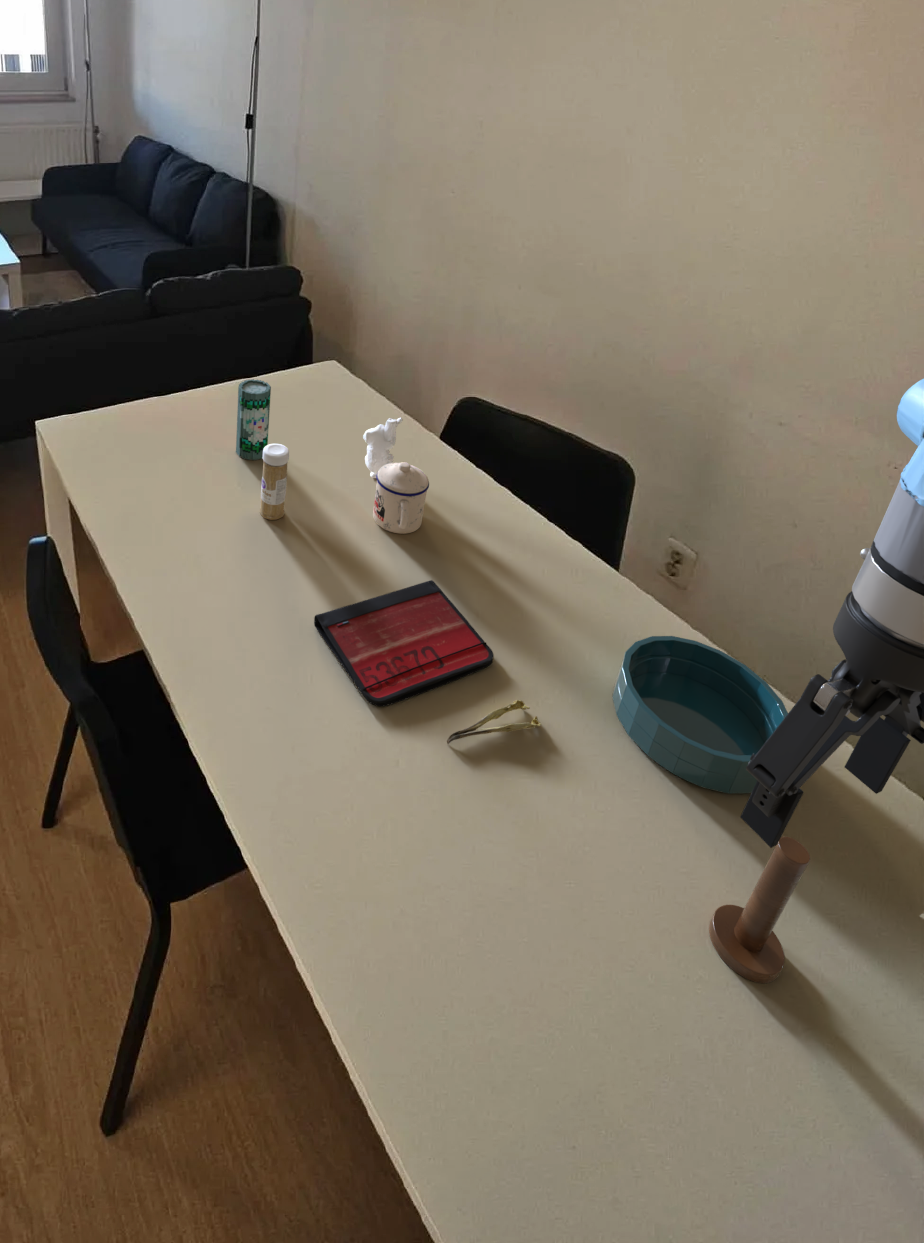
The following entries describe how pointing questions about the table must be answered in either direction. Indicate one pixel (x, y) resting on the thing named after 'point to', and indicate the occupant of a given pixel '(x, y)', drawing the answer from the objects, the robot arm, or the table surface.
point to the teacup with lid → (400, 497)
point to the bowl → (695, 710)
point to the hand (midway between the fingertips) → (812, 804)
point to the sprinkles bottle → (274, 481)
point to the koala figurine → (380, 445)
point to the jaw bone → (495, 715)
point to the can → (252, 418)
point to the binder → (403, 643)
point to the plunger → (760, 917)
